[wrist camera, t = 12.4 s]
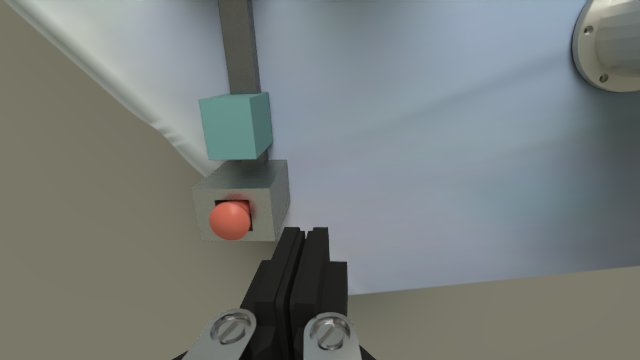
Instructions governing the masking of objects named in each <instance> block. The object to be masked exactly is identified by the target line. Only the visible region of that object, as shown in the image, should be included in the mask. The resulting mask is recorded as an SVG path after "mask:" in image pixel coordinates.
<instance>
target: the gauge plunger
mask: <svg viewBox="0 0 640 360" xmlns="http://www.w3.org/2000/svg"><path fill="white" fill-rule="evenodd" d="M250 215H251V211H250V203H249V200H229V201H228V202H223V203H220V204H218V205H217V206H216V207H215V208H214V209H213V210H212V211H211V213H210V216H209V224H210V227H211V229H212V230H213V232H214V233H215V234H216V235H217V236H219V237H221V238H223V239H225V240H238V239H241V238H242V237H244V236H245V235H246V233H247V232H248V230H249V228H250V225H251V220H250Z"/></svg>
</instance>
